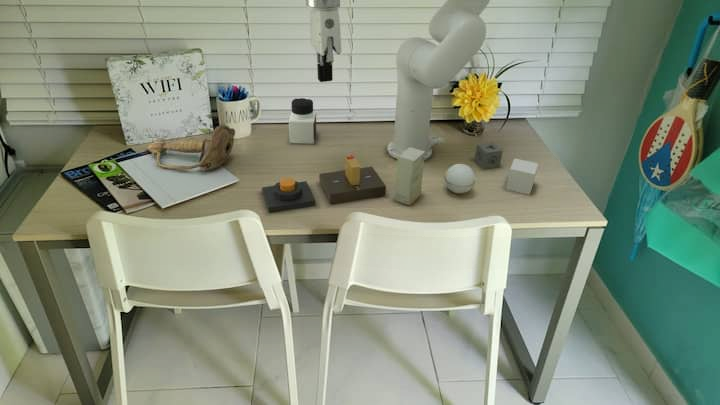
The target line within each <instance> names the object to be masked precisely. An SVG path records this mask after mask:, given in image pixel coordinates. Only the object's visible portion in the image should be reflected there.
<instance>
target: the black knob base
mask: <svg viewBox="0 0 720 405" xmlns="http://www.w3.org/2000/svg"><path fill="white" fill-rule="evenodd" d="M294 181H295V190H294V191H292V192H283V191H281V190H280V181H278V182H276V183H275V184H274V185H269V186H262V187H261V193H262V196H263V199H264V203H265V205H266V208H267V212H268V214H271V213H279V212H284V211H292V210H298V209H304V208H311V207H316V199H315V197H314V194H313V193H312V191H311V188H310V186H309V184H308V182H307V180H305V181H299V182H298V181H297V180H294Z"/></svg>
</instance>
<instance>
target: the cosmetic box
mask: <svg viewBox="0 0 720 405" xmlns="http://www.w3.org/2000/svg"><path fill="white" fill-rule="evenodd" d="M424 157H425V151H422V150H419V149H416V148H412V147H408V148H407V149H406V150H405V151H403V152H402V153H401V154H400V155H399V156H398V159H396V173H395V186H394V199H393V200H394V201H395V202H398V203H401V204H404V205H407V206H411V205H412V204H413V203H414V202H415V201H416V200H417V199H418V198H419V197H420V196H421V194H422V186H423V176H424V165H425V160H424Z"/></svg>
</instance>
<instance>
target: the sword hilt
mask: <svg viewBox="0 0 720 405" xmlns="http://www.w3.org/2000/svg"><path fill="white" fill-rule="evenodd" d="M235 136H236V130H235V129H234V128H230V126H228V125H226V124H219V125H218V126H216V127H215V128H214V130H213V132H212V134H211V136H210V139H206V138H205V139H184V140H176V141H169V142H168V143H166V142H165V141H162V140H156V141H154V142H152V143H150V144H149V145H148V144H147V145H145V146H144V151H145V152H150V153H151V155H152V156H153V157H156V162H157V165H158V166H159V167H162V168H164V169H172V170H192V169H196V168H201V171H202V172H206V171H209V170H213V169H217V168H219V167H220V166H222V165H223V164H224V163H225V162H226V161H227V159H228V158H229V157H230V155H231V152H232V149H233V147H234V142H235V140H234V138H235ZM167 151H169V152H179V153H183V154H184V153H185V154H199V153H200V155H199V160H198V163H197V164H193V165H169V164H168V165H167V164H166V165H165V164H162V162H161V156H162V155H163V154H164V153H166V152H167Z"/></svg>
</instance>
